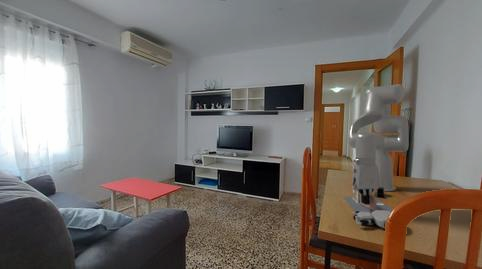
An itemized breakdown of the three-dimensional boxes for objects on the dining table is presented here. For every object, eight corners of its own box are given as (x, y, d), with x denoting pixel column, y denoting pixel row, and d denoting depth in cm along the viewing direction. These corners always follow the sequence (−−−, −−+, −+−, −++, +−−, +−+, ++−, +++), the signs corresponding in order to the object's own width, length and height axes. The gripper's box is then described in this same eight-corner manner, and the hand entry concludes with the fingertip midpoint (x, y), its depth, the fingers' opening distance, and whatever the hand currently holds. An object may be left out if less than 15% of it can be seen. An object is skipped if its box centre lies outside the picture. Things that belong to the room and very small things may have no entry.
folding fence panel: (360, 203, 97) (360, 190, 97) (362, 203, 97) (362, 190, 97) (373, 211, 88) (373, 197, 88) (376, 210, 88) (376, 197, 88)
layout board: (343, 197, 108) (343, 196, 107) (377, 198, 104) (377, 198, 104) (356, 212, 89) (356, 211, 89) (398, 214, 86) (398, 213, 86)
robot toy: (357, 232, 74) (406, 235, 70) (356, 220, 74) (405, 222, 70) (350, 218, 86) (392, 219, 81) (349, 207, 86) (391, 208, 81)
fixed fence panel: (352, 198, 106) (352, 184, 106) (355, 198, 106) (355, 184, 106) (358, 204, 98) (358, 189, 97) (362, 204, 97) (362, 189, 97)
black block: (388, 201, 103) (388, 192, 103) (371, 198, 107) (371, 189, 107) (388, 194, 113) (388, 186, 112) (373, 192, 117) (373, 184, 117)
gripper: (355, 163, 85) (355, 207, 85) (388, 162, 87) (388, 205, 87) (344, 161, 92) (344, 201, 93) (374, 160, 94) (374, 200, 94)
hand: (365, 203), depth 90 cm, fingers closed
